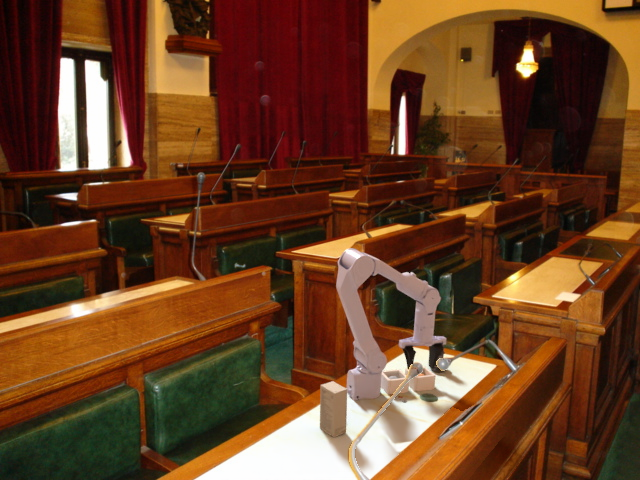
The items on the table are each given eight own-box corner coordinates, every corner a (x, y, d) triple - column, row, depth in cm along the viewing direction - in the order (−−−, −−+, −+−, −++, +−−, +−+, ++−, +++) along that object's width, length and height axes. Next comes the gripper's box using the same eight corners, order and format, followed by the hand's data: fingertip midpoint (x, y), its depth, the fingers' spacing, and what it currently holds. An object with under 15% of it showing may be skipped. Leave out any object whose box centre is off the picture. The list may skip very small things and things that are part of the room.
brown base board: (395, 411, 173) (396, 406, 173) (376, 389, 186) (376, 385, 186) (446, 404, 178) (447, 400, 178) (424, 384, 191) (425, 379, 191)
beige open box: (414, 392, 183) (415, 377, 182) (404, 382, 189) (405, 368, 188) (434, 389, 185) (435, 375, 184) (424, 380, 191) (425, 366, 190)
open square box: (387, 395, 180) (388, 380, 179) (378, 385, 186) (379, 371, 185) (408, 392, 182) (409, 378, 181) (398, 383, 188) (399, 369, 187)
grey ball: (389, 392, 182) (390, 380, 181) (384, 386, 185) (385, 374, 184) (402, 391, 183) (403, 378, 182) (396, 385, 187) (397, 372, 186)
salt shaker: (445, 370, 201) (448, 335, 199) (447, 378, 196) (450, 342, 193) (427, 369, 202) (430, 334, 199) (428, 377, 196) (431, 341, 194)
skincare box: (346, 433, 161) (348, 389, 158) (332, 438, 158) (335, 393, 156) (331, 422, 166) (333, 380, 163) (318, 427, 163) (319, 384, 160)
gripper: (407, 331, 177) (404, 376, 180) (453, 327, 181) (449, 371, 184) (397, 323, 183) (394, 366, 186) (441, 319, 188) (437, 362, 191)
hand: (420, 368), depth 186 cm, fingers open, 6 cm apart
